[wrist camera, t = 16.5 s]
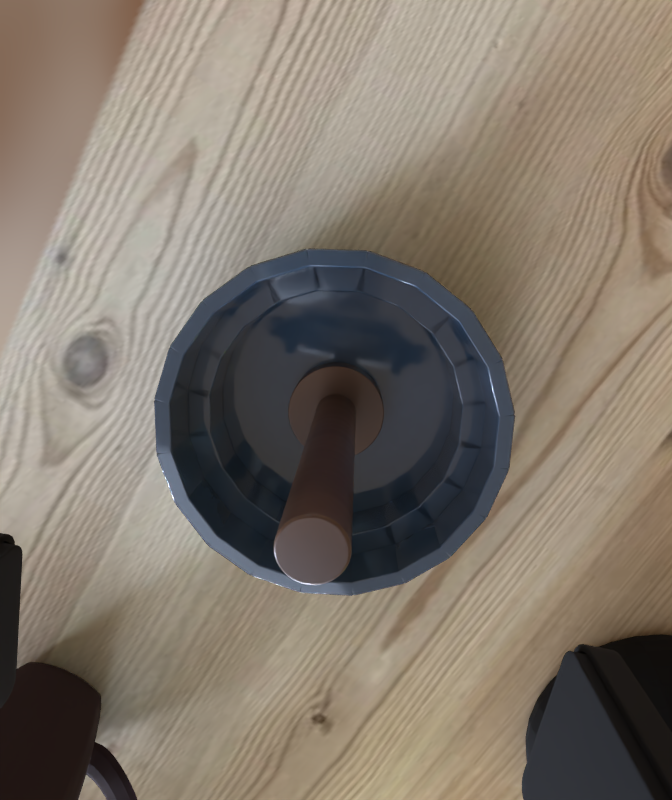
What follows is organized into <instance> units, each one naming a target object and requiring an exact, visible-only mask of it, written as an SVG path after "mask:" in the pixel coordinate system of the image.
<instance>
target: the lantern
mask: <svg viewBox="0 0 672 800" xmlns="http://www.w3.org/2000/svg"><path fill="white" fill-rule="evenodd" d="M599 648H605V649H610V650H614V651H616V652H618V653H619V654H620V655H621V657H622V658H623V660H624V661H625V663H626V664H627V666H628V667H629V669H630V670H631V672H632V673H633V675H634V676H635V678H636V679H637V681H638V682H639V684H640V685H641V687H642V688H643V690H644V691H645V693H646V694H647V696H648V697H649V699H650V700H651V702H652V703H653V705H654V706H655V708H656V709H657V711H658V712H659V714H660V715H661V717H662V718H663V720H664V721H665V723H666V724H667V726H668V727H669V729H670V730H671V732H672V636H670V635H650V636H637V637H632V638H628V639H623V640H619V641H615V642H611V643H609V644H606V645H604V646H602V647H599ZM556 677H557V676H556ZM556 677H555V678H554V679H553V680H551V681H550V683H549V684H548V686H547V687H546V688H545V690H544V691H543V693H542V694H541V695H540V697H539V698H538V700H537V702H536V704H535V706H534V709H533V711H532V713H531V716H530V718H529V723H528V728H527V733H526V755H527V761H528V758H529V756H530V753H531V750H532V747H533V744H534V741H535V738H536V735H537V732H538V729H539V727H540V724H541V721H542V718H543V715H544V712H545V709H546V706H547V703H548V700H549V698H550V695H551V692H552V689H553V686H554V683H555V680H556Z"/></svg>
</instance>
